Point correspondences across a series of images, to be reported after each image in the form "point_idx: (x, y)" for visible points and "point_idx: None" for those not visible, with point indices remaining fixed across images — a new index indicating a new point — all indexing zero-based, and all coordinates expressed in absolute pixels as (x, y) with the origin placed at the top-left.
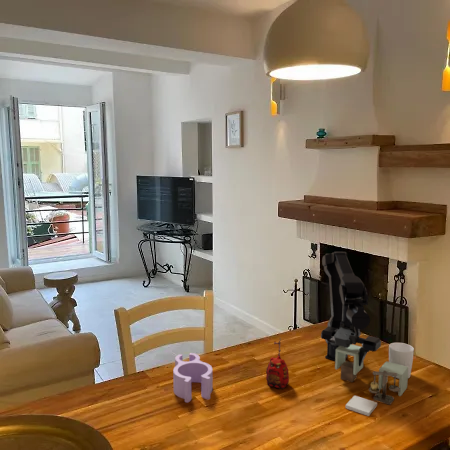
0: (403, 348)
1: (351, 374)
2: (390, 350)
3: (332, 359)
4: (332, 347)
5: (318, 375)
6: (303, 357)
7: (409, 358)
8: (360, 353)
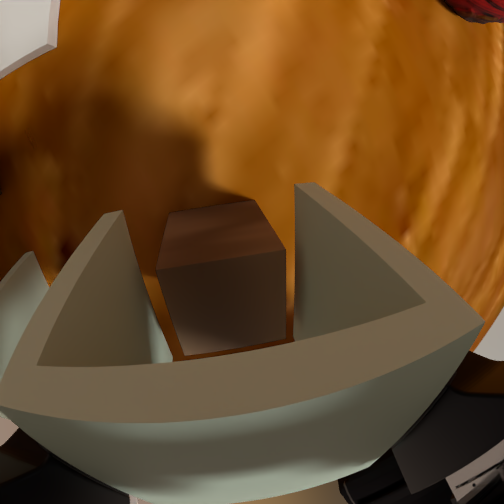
0: None
1: (170, 235)
2: None
3: None
4: None
5: (382, 149)
6: (459, 268)
7: None
8: (44, 447)
